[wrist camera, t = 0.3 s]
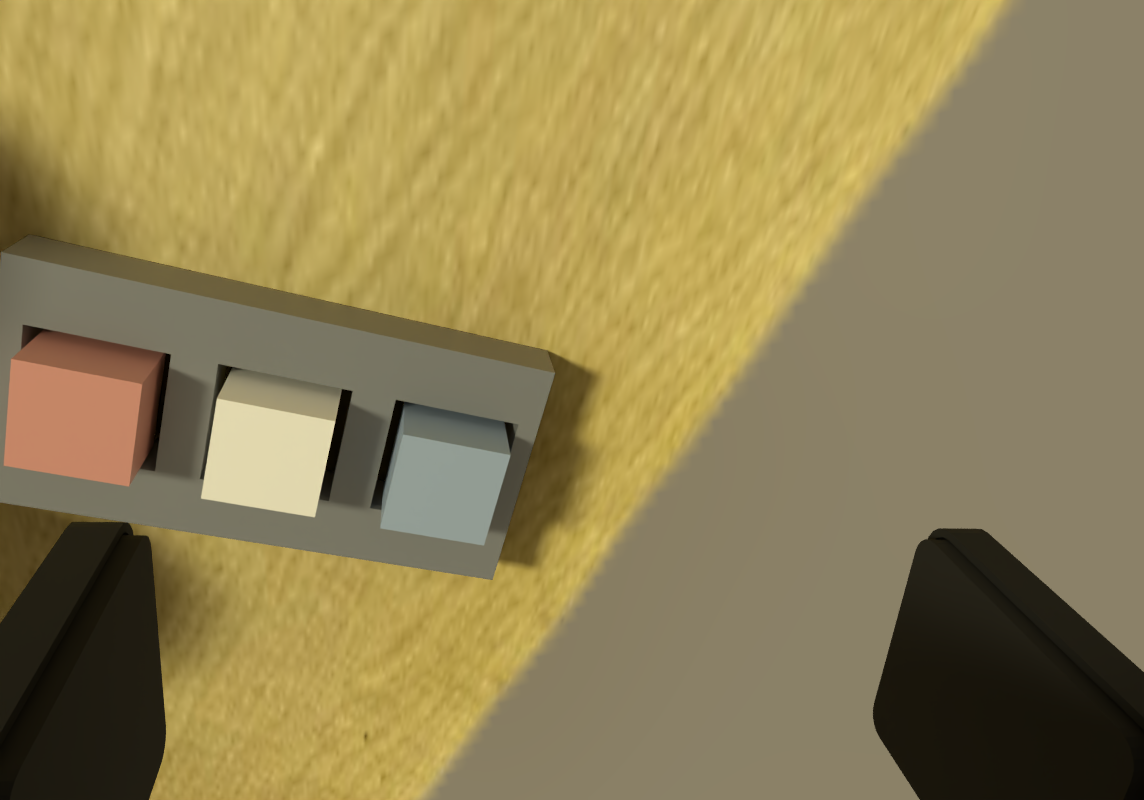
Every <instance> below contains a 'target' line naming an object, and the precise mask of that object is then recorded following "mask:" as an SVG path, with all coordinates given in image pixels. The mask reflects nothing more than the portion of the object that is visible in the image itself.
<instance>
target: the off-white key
mask: <svg viewBox="0 0 1144 800" xmlns="http://www.w3.org/2000/svg"><path fill="white" fill-rule="evenodd" d="M341 391H342V389H340V388H335V387H330V386H325V385H321V384H316V383H311V382H306V381H301V380H296V379H291V378H286V377H281V376H276V375H271V374H266V373H261V372H256V371H251V370H246V369H241V368H236V367H233V368H232V370H231V372H230V374H229V376H228V378H227V380H226V382H225V383H224V385H223V387H222V389H221V391H220V393H219V395H218V397H217V401H216V408H215V414H214V420H213V426H212V433H211V439H210V445H209V451H208V457H207V464H206V470H205V476H204V482H203V489H202V495H201V499H207V500H213V501H219V502H225V503H231V504H237V505H243V506H249V507H255V508H261V509H267V510H273V511H279V512H285V513H291V514H297V515H303V516H309V517H315V514H316V510H317V505H318V500H319V496H320V491H321V486H322V482H323V477H324V472H325V468H326V463H327V458H328V454H329V449H330V444H331V440H332V435H333V430H334V426H335V421H336V416H337V411H338V406H339V401H340V396H341Z"/></svg>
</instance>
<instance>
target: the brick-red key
mask: <svg viewBox="0 0 1144 800" xmlns="http://www.w3.org/2000/svg"><path fill="white" fill-rule="evenodd" d="M165 356H166V353H162V352H157V351H152V350H147V349H142V348H137V347H132V346H127V345H122V344H117V343H112V342H108V341H103V340H98V339H93V338H88V337H83V336H78V335H73V334H68V333H63V332H58V331H53V330H48V329H44V330H43V331H42V332H40V333H39V334H38V335H37V336H36V337H35V338H34V339H33V340H32V341H30V342H29V343H28V344H27V345H26V346H25V347H24V348H23V349H21V350H20V351H19V352H18V353H17V354H16V355H15V356H14V357H13V358H11V368H10V382H9V396H8V410H7V425H6V439H5V453H4V466H9V467H15V468H21V469H27V470H33V471H39V472H45V473H51V474H57V475H63V476H69V477H75V478H81V479H87V480H93V481H99V482H105V483H111V484H117V485H123V486H130V484H131V483H132V481H133V479H134V478H135V476H136V474H137V472H138V471H139V469H140V467H141V466H142V464H143V462H144V461H145V459H146V457H147V456H148V454H149V452H150V450H151V449H152V447H153V445H154V438H155V430H156V423H157V415H158V408H159V401H160V393H161V386H162V379H163V371H164V364H165Z"/></svg>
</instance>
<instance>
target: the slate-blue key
mask: <svg viewBox="0 0 1144 800" xmlns="http://www.w3.org/2000/svg"><path fill="white" fill-rule="evenodd" d="M510 456H511V455H510V449H509V444H508V439H507V434H506V428H505V423H504V421H499V420H494V419H489V418H484V417H479V416H474V415H469V414H464V413H459V412H454V411H449V410H444V409H439V408H434V407H430V406H425V405H420V404H415V403H410V402H405V401H404V403H403V407H402V411H401V416H400V420H399V424H398V428H397V432H396V436H395V440H394V444H393V449H392V453H391V457H390V461H389V465H388V469H387V473H386V478H385V482H384V486H383V497H382V510H381V523H380V528H381V529H387V530H393V531H399V532H405V533H411V534H417V535H423V536H429V537H435V538H441V539H447V540H453V541H459V542H465V543H471V544H477V545H483V546H484V544H485V540H486V537H487V534H488V530H489V527H490V523H491V520H492V517H493V513H494V510H495V506H496V503H497V500H498V496H499V493H500V489H501V486H502V483H503V479H504V476H505V472H506V469H507V466H508V462H509V459H510Z"/></svg>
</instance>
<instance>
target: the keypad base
mask: <svg viewBox="0 0 1144 800" xmlns="http://www.w3.org/2000/svg"><path fill="white" fill-rule="evenodd" d="M44 329H48V330H53V331H58V332H63V333H68V334H73V335H78V336H83V337H88V338H93V339H98V340H103V341H108V342H112V343H117V344H122V345H127V346H132V347H137V348H142V349H147V350H152V351H157V352H162V353H167V354H171V359H170V366H169V373H168V381H167V388H166V395H165V402H164V410H163V417H162V424H161V431H160V439H159V440H154V445H153V447H152V449H151V450H150V452H149V454H148V456H147V457H146V459H145V461H144V462H143V464H142V466H141V467H140V469H139V471H138V472H137V474H136V476H135V478H134V479H133V481H132V483H131V484H130V486H123V485H117V484H111V483H105V482H99V481H93V480H87V479H81V478H75V477H69V476H63V475H57V474H51V473H45V472H39V471H33V470H27V469H21V468H15V467H9V466H4V453H5V439H6V425H7V410H8V396H9V382H10V368H11V358H13V357H14V356H15V355H16V354H17V353H18V352H19V351H20V350H21V349H23V348H24V347H25V346H26V345H27V344H28V343H29V342H30V341H32V340H33V339H34V338H35V337H36V336H37V335H38V334H39V333H40V332H42V331H43V330H44ZM227 366H231V367H236V368H241V369H246V370H251V371H256V372H261V373H266V374H271V375H276V376H281V377H286V378H291V379H296V380H301V381H306V382H311V383H316V384H321V385H325V386H330V387H335V388H340V389H345V390H350V391H352V393H351V397H350V402H349V406H348V411H347V416H346V420H345V425H344V429H343V434H342V438H341V443H340V448H339V452H338V457H337V461H336V466H335V471H334V472H332V471H326V470H325V472H324V477H323V482H322V486H321V491H320V496H319V500H318V505H317V510H316V514H315V517H309V516H303V515H297V514H291V513H285V512H279V511H273V510H267V509H261V508H255V507H249V506H243V505H237V504H231V503H225V502H219V501H213V500H207V499H201V495H202V489H203V482H204V476H205V470H206V464H207V457H208V451H209V445H210V439H211V433H212V426H213V420H214V414H215V408H216V401H217V397H218V395H219V393H220V391H221V389H222V387H223V385H224V380H225V374H226V367H227ZM554 375H555V371H554V368H553V365H552V362H551V360H550V357H549V354H548V351H547V350H542V349H538V348H533V347H529V346H524V345H520V344H515V343H511V342H506V341H502V340H497V339H493V338H489V337H484V336H480V335H475V334H471V333H466V332H462V331H457V330H453V329H448V328H444V327H440V326H435V325H431V324H426V323H422V322H417V321H413V320H408V319H404V318H399V317H395V316H390V315H386V314H382V313H377V312H373V311H368V310H364V309H359V308H355V307H350V306H346V305H341V304H337V303H332V302H328V301H324V300H319V299H315V298H310V297H306V296H301V295H297V294H292V293H288V292H283V291H279V290H275V289H270V288H266V287H261V286H257V285H252V284H248V283H243V282H239V281H234V280H230V279H225V278H221V277H217V276H212V275H208V274H203V273H199V272H194V271H190V270H185V269H181V268H176V267H172V266H167V265H163V264H159V263H154V262H150V261H145V260H141V259H136V258H132V257H127V256H123V255H118V254H114V253H110V252H105V251H101V250H96V249H92V248H87V247H83V246H78V245H74V244H69V243H65V242H60V241H56V240H52V239H47V238H43V237H38V236H34V235H28V236H26V237H25V238H23V239H21V240H20V241H18V242H16V243H15V244H13V245H12V246H10V247H8V248H7V249H5V250H4V251H2V252H1V262H0V503H7V504H13V505H19V506H26V507H32V508H39V509H45V510H51V511H58V512H64V513H70V514H77V515H83V516H89V517H96V518H102V519H108V520H115V521H121V522H128V523H134V524H140V525H147V526H153V527H159V528H166V529H172V530H178V531H185V532H191V533H197V534H204V535H210V536H216V537H223V538H229V539H236V540H242V541H248V542H255V543H261V544H267V545H274V546H280V547H286V548H293V549H299V550H305V551H312V552H318V553H325V554H331V555H337V556H344V557H350V558H356V559H363V560H369V561H375V562H382V563H388V564H394V565H401V566H407V567H414V568H420V569H426V570H433V571H439V572H445V573H452V574H458V575H464V576H471V577H477V578H483V579H490V580H493V576H494V573H495V570H496V566H497V563H498V560H499V556H500V553H501V550H502V547H503V543H504V540H505V537H506V533H507V530H508V527H509V524H510V520H511V517H512V514H513V510H514V507H515V504H516V501H517V497H518V494H519V491H520V487H521V484H522V481H523V477H524V474H525V471H526V468H527V464H528V461H529V458H530V454H531V451H532V448H533V445H534V441H535V438H536V435H537V431H538V428H539V425H540V421H541V418H542V415H543V412H544V408H545V405H546V402H547V398H548V395H549V392H550V389H551V385H552V382H553V379H554ZM396 400H400V401H405V402H410V403H415V404H420V405H425V406H430V407H434V408H439V409H444V410H449V411H454V412H459V413H464V414H469V415H474V416H479V417H484V418H489V419H494V420H499V421H504V422H507V423H506V426H505V428H506V434H507V439H508V444H509V449H510V455H511V456H510V459H509V462H508V466H507V469H506V472H505V476H504V479H503V483H502V486H501V489H500V493H499V496H498V500H497V503H496V506H495V510H494V513H493V517H492V520H491V523H490V527H489V530H488V534H487V537H486V540H485V544H484V546H483V545H477V544H471V543H465V542H459V541H453V540H447V539H441V538H435V537H429V536H423V535H417V534H411V533H405V532H399V531H393V530H387V529H381V528H380V523H381V510H382V497H383V486H384V482H385V481H382V480H377V477H378V472H379V468H380V464H381V460H382V456H383V451H384V447H385V443H386V439H387V435H388V430H389V426H390V422H391V418H392V414H393V409H394V405H395V401H396Z"/></svg>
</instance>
